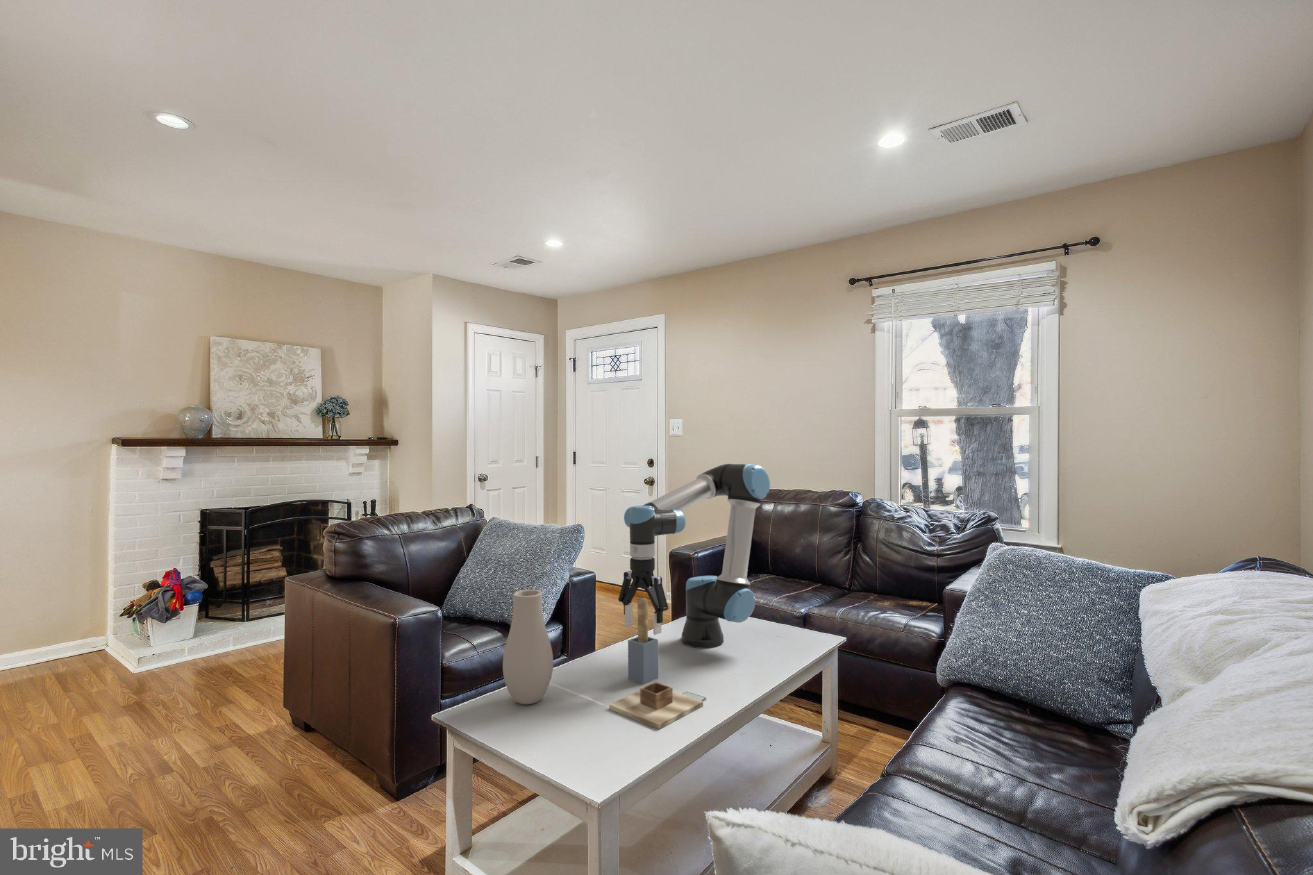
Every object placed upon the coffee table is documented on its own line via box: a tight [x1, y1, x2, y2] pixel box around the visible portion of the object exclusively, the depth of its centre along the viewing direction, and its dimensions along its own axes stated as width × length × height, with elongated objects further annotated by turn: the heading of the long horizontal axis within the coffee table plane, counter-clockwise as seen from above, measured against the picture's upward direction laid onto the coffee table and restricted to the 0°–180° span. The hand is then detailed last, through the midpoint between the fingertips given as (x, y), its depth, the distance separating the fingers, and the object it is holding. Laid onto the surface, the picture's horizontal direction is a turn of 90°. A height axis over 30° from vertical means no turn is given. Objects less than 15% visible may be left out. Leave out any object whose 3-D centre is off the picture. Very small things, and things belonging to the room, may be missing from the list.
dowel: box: [637, 597, 649, 644], centre depth 185 cm, size 3×3×24 cm
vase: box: [502, 589, 554, 705], centre depth 170 cm, size 14×14×30 cm
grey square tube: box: [627, 636, 659, 685], centre depth 185 cm, size 6×6×12 cm
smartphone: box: [681, 691, 707, 702], centre depth 167 cm, size 7×1×15 cm
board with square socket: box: [608, 681, 704, 730], centre depth 165 cm, size 18×18×5 cm
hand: (642, 629), depth 185 cm, fingers open, 11 cm apart
